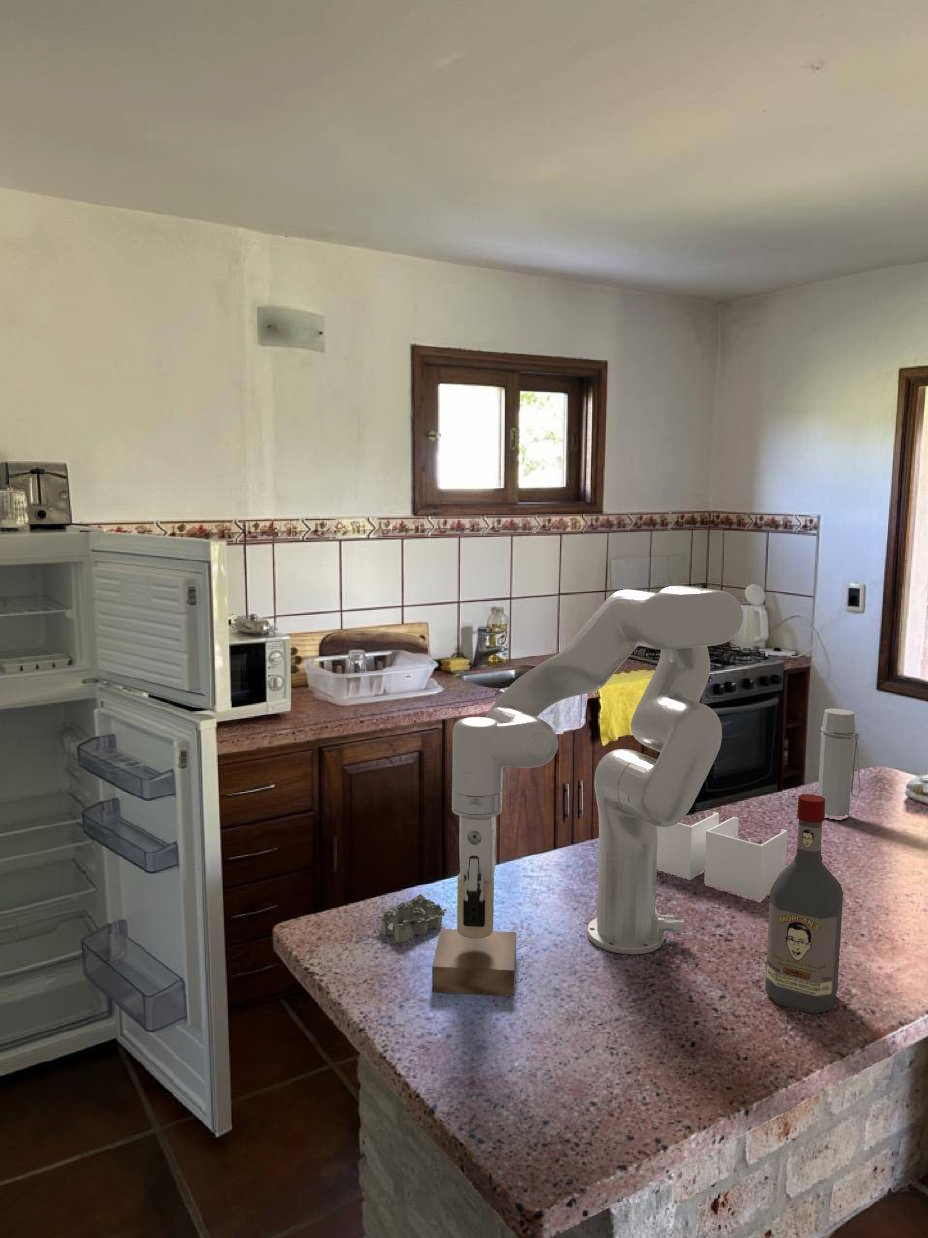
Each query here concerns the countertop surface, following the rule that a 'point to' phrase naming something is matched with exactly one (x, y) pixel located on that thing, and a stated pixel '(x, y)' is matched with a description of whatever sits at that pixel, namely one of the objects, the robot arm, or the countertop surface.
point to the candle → (489, 908)
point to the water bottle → (837, 761)
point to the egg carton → (410, 911)
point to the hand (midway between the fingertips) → (475, 915)
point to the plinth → (474, 964)
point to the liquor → (805, 921)
